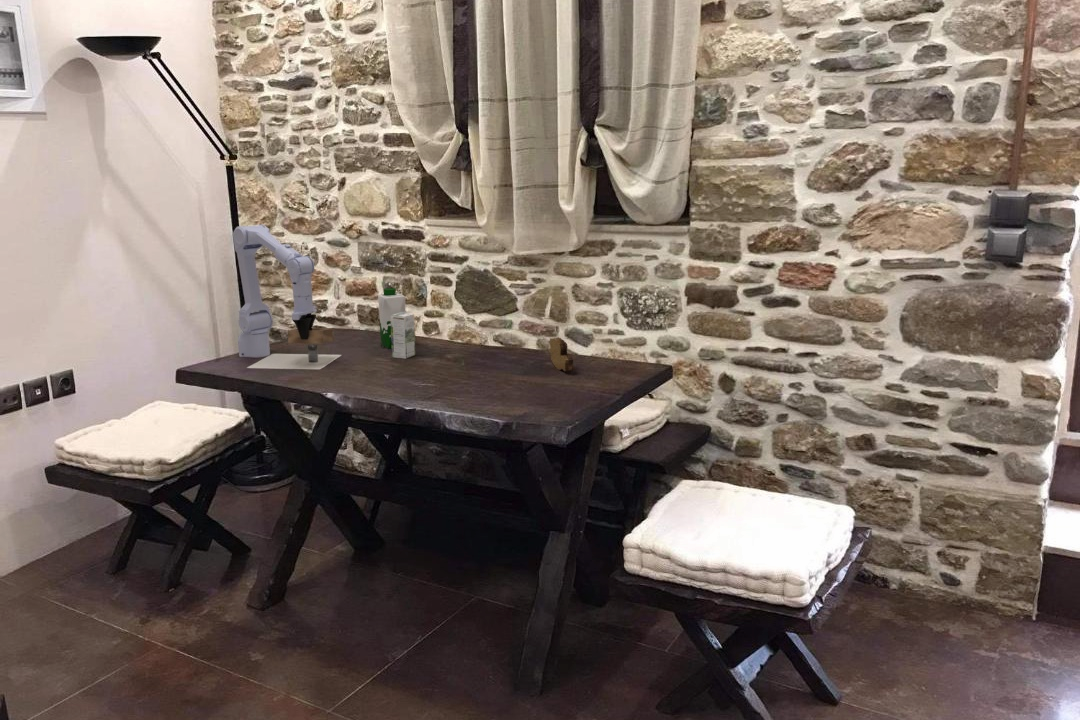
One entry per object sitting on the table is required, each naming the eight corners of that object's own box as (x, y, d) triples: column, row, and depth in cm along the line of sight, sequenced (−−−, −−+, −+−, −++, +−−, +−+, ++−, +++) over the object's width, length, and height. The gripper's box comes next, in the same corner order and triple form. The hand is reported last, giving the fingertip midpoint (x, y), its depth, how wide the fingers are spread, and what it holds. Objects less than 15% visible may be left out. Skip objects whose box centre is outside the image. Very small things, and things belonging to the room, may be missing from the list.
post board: (246, 371, 275) (244, 351, 274) (273, 357, 295) (271, 338, 293) (320, 373, 272) (319, 352, 271) (342, 358, 292) (340, 339, 290)
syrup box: (401, 354, 297) (399, 311, 294) (416, 355, 294) (414, 313, 291) (391, 357, 292) (389, 314, 289) (406, 359, 289) (404, 316, 286)
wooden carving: (579, 374, 268) (578, 342, 265) (565, 375, 266) (565, 343, 264) (557, 362, 282) (557, 332, 280) (544, 364, 281) (543, 333, 278)
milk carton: (401, 342, 315) (399, 287, 311) (410, 347, 308) (407, 290, 303) (378, 345, 312) (375, 289, 307) (386, 349, 304) (383, 292, 299)
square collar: (288, 343, 276) (287, 330, 275) (301, 340, 287) (301, 328, 286) (321, 343, 275) (321, 330, 274) (334, 340, 285) (333, 328, 285)
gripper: (306, 299, 265) (309, 343, 268) (323, 292, 279) (326, 333, 282) (284, 299, 266) (287, 343, 269) (302, 291, 280) (305, 333, 283)
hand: (305, 338), depth 276 cm, fingers closed on square collar, 2 cm apart
